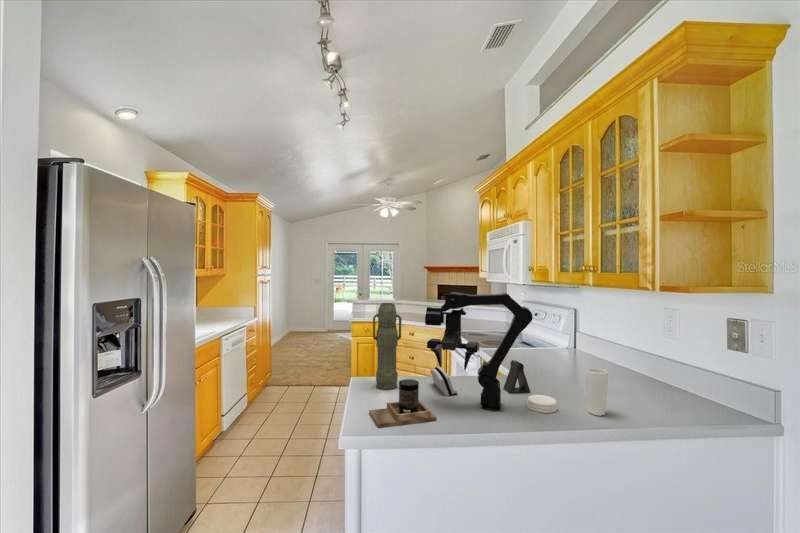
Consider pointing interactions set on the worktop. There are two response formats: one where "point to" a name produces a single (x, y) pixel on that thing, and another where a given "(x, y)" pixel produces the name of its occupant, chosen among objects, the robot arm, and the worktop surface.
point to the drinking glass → (597, 390)
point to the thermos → (386, 346)
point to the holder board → (400, 415)
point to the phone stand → (513, 375)
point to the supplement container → (408, 396)
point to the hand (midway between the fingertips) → (452, 368)
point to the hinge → (442, 381)
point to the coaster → (542, 403)
